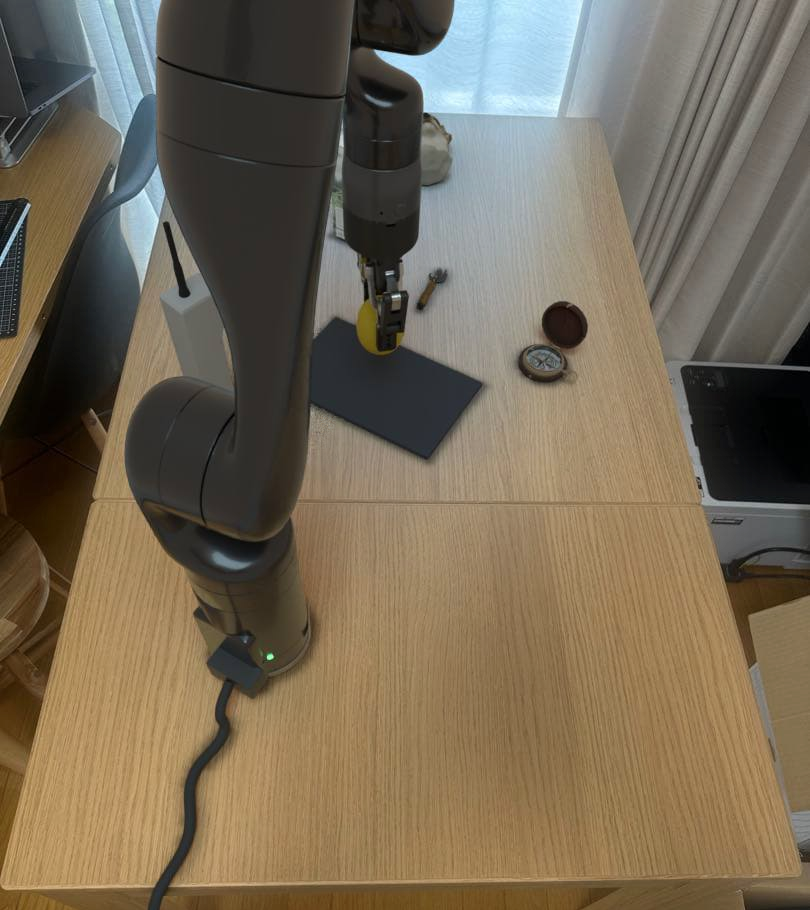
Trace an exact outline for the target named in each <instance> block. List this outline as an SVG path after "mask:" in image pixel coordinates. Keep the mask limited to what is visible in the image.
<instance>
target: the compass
mask: <svg viewBox="0 0 810 910" xmlns="http://www.w3.org/2000/svg"><path fill="white" fill-rule="evenodd" d="M541 328H542V332H543V334H544V335H545V337H546V338H547V340H548V341H549V342H550V343H551V345H549V344H545V343H536V344H532V345H528V346H526V347H525V348H524V349H523V350H522V351H521V353H520V355H519V358H518V366H519V368H520V370H521V371H522V373H523V374H524V375H526V376H527V377H528V378H530V379H531V380H534V381H537V382H553V381H556V380H557V381H558V380H559V379H560V378H562V377H563V378H564V379H565V381H569V382H575V381H576V380H578V378H579V376H578V373H577V372H576V371H574V370H572V369H567V367H568V360H567V357H566V355H565V354H564V353H563V352H562V351H561V349H565V350H570V349H575V348H576V347H578V346H580V345H581V343H583V341H584V340H585V339H586V337H587V335H588V328H589V324H588V320H587V317H586V316H585V314H584V312H583V311H582V310H581V308H580V307H579V306H577V305H576V304H574V303H573V302H569V301H566V300H559V301H556V302H553V303H552V304H550V305H549V306H548V307H547V308H546V309H545V310H544V312H543V314H542V317H541ZM569 372H572V373H574V374H575V378H574V379H569V378H567V377H568V375H569Z"/></svg>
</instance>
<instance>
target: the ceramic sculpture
mask: <svg viewBox="0 0 810 910" xmlns="http://www.w3.org/2000/svg"><path fill="white" fill-rule="evenodd" d="M452 136H453V135H452V134H451V133H449V132H447V131H446V128H445V126H444V124H442V125H441V122H440V120H439V119H438V118H437V117H436V116H435V115H433V114H431V113H428V112H426V111H424V112H423V126H422V143H421V163H422V186H431V185H433V184H435V183H438V182H440V181H442V180H444V179H445V177H446V176H447V175H448V174H449V172H450V170H451V166H452V163H453V157H452V155H451V153H450V152H449V144H450V143H451V142H452V140H453V138H452Z"/></svg>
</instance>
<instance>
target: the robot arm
mask: <svg viewBox="0 0 810 910" xmlns="http://www.w3.org/2000/svg"><path fill="white" fill-rule="evenodd" d="M455 1H456V0H161V1H160V4H159V8H158V13H157V19H156V33H155V34H156V36H155V55H156V57H155V149H156V159H157V165H158V170H159V173H160V178H161V182H162V186H163V188H164V192H165V194H166V198H167V200H168V203H169V205H170V209H171V211H172V214H173V216H174V218H175V220H176V223H177V225H178V228H179V230H180V232H181V235H182V237H183V239H184V241H185V243H186V246H187V248H188V250H189V252H190V254H191V256H192V258H193V260H194V262H195V264H196V266H197V270H199V274H200V275H202V277H203V279H204V281H205V283H206V285H207V287H208V289H209V291H210V293H211V296H212V298H213V300H214V303H215V305H216V308H217V310H218V312H219V315H220V317H221V320H222V323H223V326H224V333H225V335H226V339H227V343H228V347H229V348H228V349H229V352H230V360H231V365H232V376H233V386H234V392H233V391H231V390H228V389H225V388H222V387H220V386H217V385H214V384H211V383H208V382H205V381H203V380H200V379H197V378H193V377H188V376H183V375H179V376H177V375H176V376H171V377H168V378H166V379H163V380H162V381H160V382H158V383H156V384H154V385H153V386H152V387H151V388H150V389H148V391H146V392H145V393H144V394H143V395H142V397H141V399H140V400H139V401H138V403H137V405H136V406H135V408H134V410H133V412H132V413H131V417H130V420H129V421H128V425H127V429H126V433H125V440H124V468H125V474H126V478H127V481H128V485H129V488H130V491H131V493H132V496H133V498H134V500H135V502H136V504H137V506H138V508H139V510H140V512H141V514H142V515H143V517H144V519H145V521H146V522H147V524H148V526H149V528H150V530H151V531H152V534H154V536H155V538H156V540H157V542H158V544H159V545H160V547H161V548H162V550H163V551H164V552H165V553H166V555H167V556H169V558H170V559H172V560H173V562H175V563H177V564H178V565H179V566H181V567H182V568H183V570H184V573H185V576H186V577H187V581H188V582H189V584H190V587H191V588H192V592H193V594H194V596H195V598H196V601H197V603H198V606H197V607H196V608H195V609H194V610H193V612H192V616H193V618H194V621H195V624H196V625H197V627H198V630H199V632H200V634H201V636H202V638H203V641H204V643H205V645H206V647H207V649H208V651H209V653H210V655H211V656H209V658H208V660H207V661H206V662H205V664H206V666H207V668H208V671H209V673H210V675H212V676H214V677H215V678H217V679H218V680H220V681H221V682H223V683H222V685H221V689H220V691H219V693H218V696H217V700H216V702H215V707H214V719H215V721H216V723H217V725H218V726H219V727H218V731H217V734H216V735H215V737H214V739H213V740H212V742H211V743H210V744H209V745H208V746H207V747H206V748H205V749H204V750H203V752H202V753H201V754H200V755H199V756H198V757H197V758H196V760H195V761H194V762H193V763H192V765H191V767H190V769H189V771H188V773H187V776H186V778H185V781H184V782H185V784H184V788H183V811H184V812H183V813H184V814H183V815H184V823H183V830H182V831H183V832H182V835H181V839H180V842H179V843H178V847H177V848H176V851H175V853H174V854H173V856H172V858H171V859H170V861H169V862H168V864H167V865H166V867H165V869H164V870H163V872H162V873H161V875H160V877H159V878H158V880H157V882H156V883H155V885H154V887H153V890H152V892H151V895H150V898H149V901H148V905H147V910H161V905H162V902H163V899H164V896H165V894H166V892H167V889H168V888H169V886H170V885H171V882H172V881H173V879H174V878H175V876H176V875H177V873H178V871H179V870H180V868H181V866H182V865H183V864H184V863H185V862H184V861H185V860H186V858H187V857H188V854H189V852H190V850H191V847H192V844H193V841H194V838H195V834H196V829H197V806H196V789H197V784H198V779H199V777H200V774H201V773H202V772H203V769H204V768H205V767H206V765H207V764H209V762H210V761H211V760H212V759H213V758H214V757H215V755H216V754H218V752H219V751H220V750H221V749H222V747H223V746H224V744H225V743H226V741H227V739H228V736H229V733H230V730H231V724H230V720H229V718H228V716H227V715H226V710H227V705H228V702H229V700H230V697H231V694H232V692H233V689H235V690H236V691H238V692H240V693H241V694H243V695H244V696H246V697H248V698H249V699H250V700H255V698H256V696H257V695H258V694H259V692H260V691H261V689H262V688H263V687H264V686H265V684H266V683H267V682H268V680H269V678H272V677H275V676H279V675H282V674H284V673H286V672H287V671H289V670H290V669H292V668H293V667H294V666H296V665H297V664H298V663H299V662H300V660H302V658H303V657H304V655H305V654H306V652H307V650H308V649H309V646H310V643H311V638H312V625H311V620H310V604H309V603H310V602H309V600H308V601H307V602H306V595H305V590H304V584H303V578H302V571H301V565H300V561H299V560H300V559H299V552H298V546H297V539H296V533H295V526H294V522H293V519H292V514H293V512H294V510H295V508H296V505H297V502H298V500H299V497H300V494H301V491H302V487H303V483H304V479H305V473H306V468H307V460H308V453H309V452H308V451H309V441H310V428H311V427H310V425H311V383H312V359H313V340H314V339H315V338H314V336H315V324H316V323H315V322H316V310H317V300H318V292H319V284H320V278H321V277H320V276H321V267H322V260H323V253H324V246H325V239H326V233H327V228H328V227H327V226H328V220H329V214H330V213H329V212H330V209H331V208H330V207H331V202H332V189H333V183H334V177H335V170H336V164H337V158H338V150H339V142H340V135H341V129H342V128H343V146H344V148H343V162H342V200H343V229H344V238H345V240H346V241H345V242H346V244H347V246H348V247H349V248H350V249H351V250H352V251H354V252H355V253H356V256H357V257H356V258H357V262H356V266H357V268H358V270H359V274H360V283H361V284H362V286H363V303H364V302H365V301H366V300H368V299H369V302H370V304H371V305H372V307H373V308H375V317H376V321H375V324H376V347H377V350H378V351H379V352H383V351H390V350H394V349H395V348H396V344H397V333H404V334H405V332H404V331H405V330H406V322H407V315H408V306H409V300H410V295H409V293H408V290H407V289H404V288H403V277H404V275H405V269H404V261H403V256H405V255H406V254H408V253H409V252H410V251H411V250H412V249H414V247H415V246H416V244H417V242H418V240H419V233H420V220H421V219H420V217H421V204H422V203H421V200H422V187H423V184H422V163H421V143H422V126H423V113H424V109H425V107H424V106H425V102H424V101H425V100H424V99H425V98H424V92H423V88H422V86H421V84H420V83H419V81H418V79H416V78H415V77H414V76H412V74H410V73H408V72H406V71H404V70H403V69H400V68H398V67H396V66H394V65H392V64H390V63H388V62H387V61H385V60H383V59H382V58H381V57H380V56H379V55H378V54H377V52H376V51H379V52H386V53H391V54H396V55H397V54H398V55H403V56H409V57H418V56H419V57H420V56H425V55H427V54H429V53H431V52H432V51H434V50H435V49H436V48H437V47H439V46H440V44H441V43H442V42H443V41H444V40H445V38H446V36H447V35H448V32H449V30H450V27H451V25H452V21H453V16H454V12H455ZM377 295H382V297H376V296H377ZM307 603H308V604H307ZM307 606H308V607H307Z"/></svg>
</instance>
